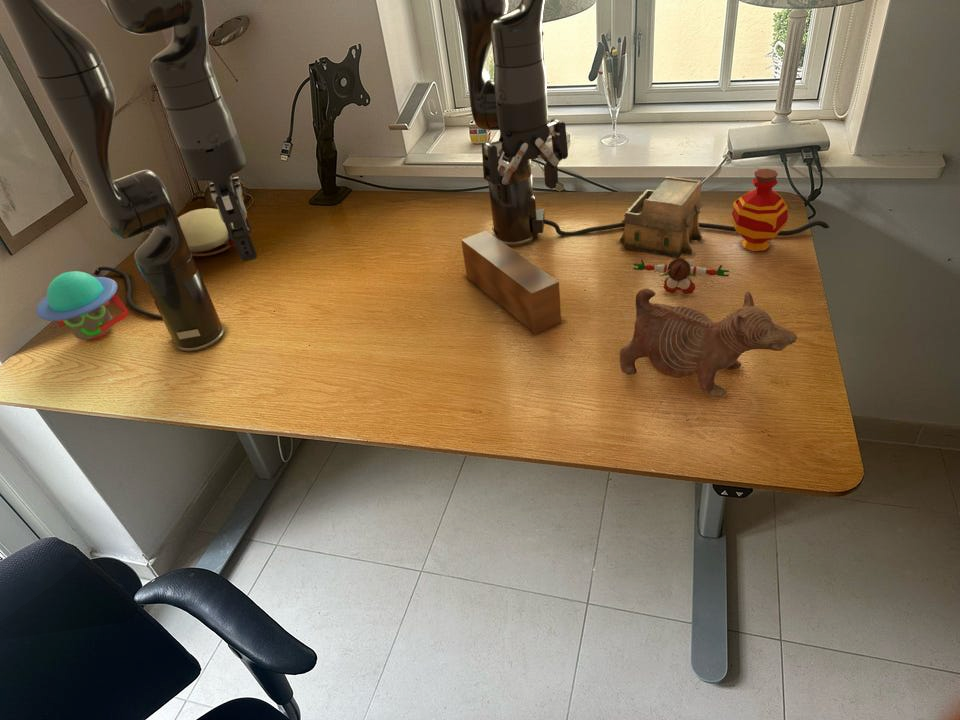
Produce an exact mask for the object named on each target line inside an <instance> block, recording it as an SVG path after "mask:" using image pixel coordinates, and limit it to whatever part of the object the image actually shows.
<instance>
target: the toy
mask: <svg viewBox="0 0 960 720" xmlns="http://www.w3.org/2000/svg"><path fill="white" fill-rule="evenodd" d="M640 262H641V263H633V266H634V267H633V268H632V269H633V270H634V271H648V272H652V271H653V272H654V273H657V272H658V273H659V274H658V276H659V277H664V276H668V277H666V278H665V279H664V281H663V282H664V283H663V289H664V290H665V292H666V293H668V294H672V295H673V294H674V293H676V292H677V291H680V292H682V294H683V295H692V294H693V293H694V292H695V290H696V288H697V287H696V284H695V283H694V282H693V280H691V278H689V277H690V276H691V277H694V278H697V276H704V277H706V275H707V276H716V277H729V276H730V275H729V274H726V273H730V270H729V269H722V268H723V265H722V264H720V265H718V268H717V269H714V268H710V269H707V267H701V266H696V265H695V266H693V263H694V261H693V260H692V259H685V258H682V257H680V258H678V259H677V258H673V259H672V260H671V261H670V262H669V263H668V264H666V263H665V264H656V263H655V264H654V265H652V264H645V260H644V259H641V260H640ZM660 273H661V274H660Z"/></svg>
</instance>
